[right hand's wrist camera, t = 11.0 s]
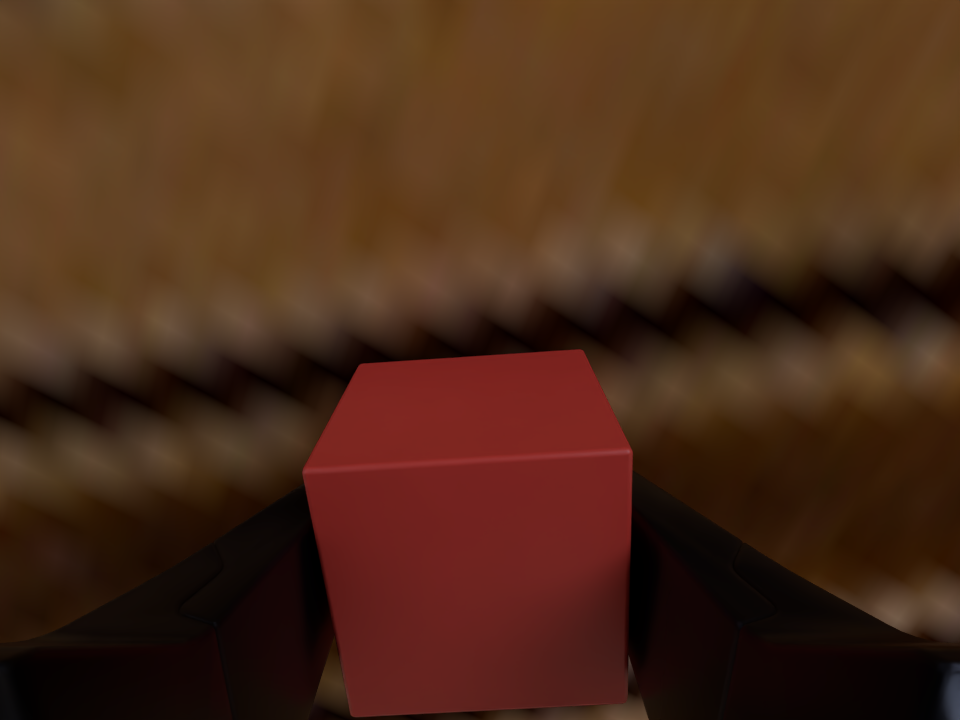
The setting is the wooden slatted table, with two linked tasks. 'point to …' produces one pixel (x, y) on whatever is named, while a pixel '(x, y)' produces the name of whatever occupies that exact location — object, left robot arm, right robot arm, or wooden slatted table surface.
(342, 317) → the wooden slatted table surface
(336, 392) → the wooden slatted table surface
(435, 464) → the block
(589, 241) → the wooden slatted table surface
